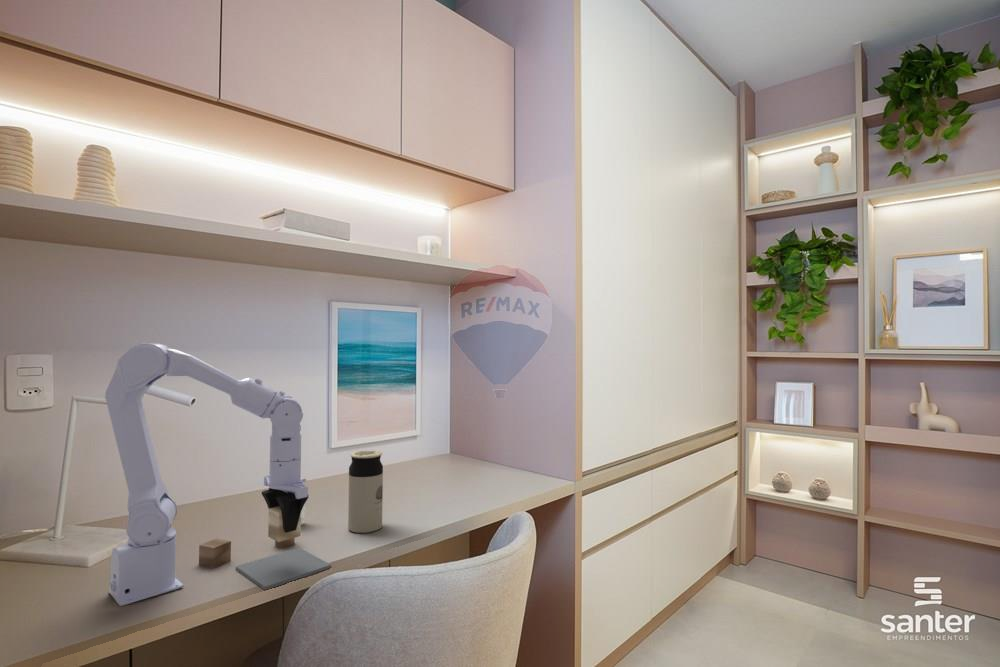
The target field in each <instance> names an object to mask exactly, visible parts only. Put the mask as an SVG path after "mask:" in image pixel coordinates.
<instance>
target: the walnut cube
mask: <svg viewBox="0 0 1000 667" xmlns="http://www.w3.org/2000/svg"><path fill="white" fill-rule="evenodd" d="M198 546H199V548H198V549H199V550H198V565H199V566H202V567H206V568H211V569H215V568H217V567H219V566H221V565H224V564H226V563H229V562H230V561H231V558H232V556H231V555H232V554H231V553H232V541H231V540H226V539H222V538H214V539H211V540H210V541H206V542H204V543H201V544H199V545H198Z"/></svg>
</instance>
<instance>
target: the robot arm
mask: <svg viewBox="0 0 1000 667" xmlns="http://www.w3.org/2000/svg"><path fill="white" fill-rule="evenodd" d="M115 367H116V369H115V370H114V372H113V375H112V377H111V379H110V381H109V384H108V386H107V388H106V390H105V395H104V396H105V397H104V398H105V402H106V406H107V408H108V414H109V418H110V421H111V426H112V430H113V435H114V438H115V442H116V445H117V450H118V453H119V458H120V461H121V465H122V470H123V474H124V477H125V481H126V482H125V483H126V486H127V489H128V498H127V511H128V519H127V523H126V526H125V530H126V532H125V533H126V535H127V537H128V540H127V542H126V543H124V544H121V545H119V546H115V547H114V548H112V551H111V554H110V579H109V589H108V592H109V594H110V595H111V596H112V598H113V599H114V600H115V602H116V603H117V604H118V606H119V607H120V606H121V607H122V606H126V605H130V604H132V603H133V604H134V603H136V602H139V601H142V600H145V599H149V598H151V597H155V596H159V595H162V594H165V593H169V592H173V591H175V590H178V589H182V588H183V587H184V584H183V582H181V581H180V580H179V579H178V578H177V577H176V556H177V554H176V552H177V550H176V549H177V531H176V530H175V529H174V527H173V525H172V522H173V521H174V520H175V519H176V517H177V515H178V504H177V503H176V501H175V500H174V499H173V498H172V497H171V496H170V495H169V492H168V490H167V487H166V484H164V482H163V480H162V478H161V475H160V469H159V467H158V462H157V458H156V453H155V450H154V445H153V441H152V437H151V433H150V429H149V425H148V421H147V417H146V412H145V408H144V404H143V400H142V397H143V396H144V395H145V394H146V392H147V391H148V390H149V389H150V387H152V385H153V383H155V382H156V381H158V380H160V379H161V378H162V377H164V376H166V377H189V378H191V379H194V380H196V381H198V382H200V383H203V384H204V385H207V386H209V387H211V388H214V389H216V390H219V391H221V392H223V393H225V394H227V395H229V396H230V400H231V403H232V405H233V406H236V407H238V408H241V409H242V410H244V411H246V412H249V413H251V414H253V415H254V416H257V417H259V418H261V419H269V420H270V422H271V435H270V437H269V474H267V475H264V476H263V486H265V487H268V489H265V490H262V491H261V495H262V497H263V498H264V500H265V503H266V505H267V509H268V510H269V508H273V507H278V506H280V509H281V513H282V520H283V528H284V532H286V533H288V532H291V531H295V530H296V528H297V525H298V521H299V517H300V514H301V511H302V508H303V506H304V504H305V505H306V503H305V502H307V500H308V499H309V494H308V493H309V489H308V486H306V485H305V483H306V482H307V478H306V477H303V476H301V475H302V474H301V470H302V469H301V468H302V467H301V465H302V464H301V463H302V461H301V460H302V433H301V431H302V426H301V422H302V420H303V417H304V413H303V409H302V407H301V405H300V403H299V402H298V401H297V400H296V399H295V398H293V397H292V396H289V395H286V393H285V392H284V391H282V390H279V391H277V390H275V389H274V388H273V389H272V388H271V387H269V386H267V385H265V384H264V383H263V380H262V379H260V378H259V377H258V378H257V377H256V378H255V379H253V378H251V377H247V378H243V379H238V378H235V377H234V376H232V375H229V374H227V373H226V372H224V371H222V370H220V369H218V368H216V367H215V366H213V365H211V364H210V363H207V362H205V361H204V360H201V359H200V358H198V357H196V356H194V355H192V354H189V353H186V352H184V351H181V350H178V349H175V348H170V347H168V346H167V345H165V344H162V343H149V342H142V343H139V344H138V343H137V344H135V345H134V346H132V347H130V348H129V349H128V350H127V351H126V352H125V353H124V354H123V355H122V356H121V357H119V359H117V364H116V366H115Z"/></svg>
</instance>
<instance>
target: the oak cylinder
mask: <svg viewBox="0 0 1000 667" xmlns="http://www.w3.org/2000/svg"><path fill="white" fill-rule="evenodd" d="M295 540H296V539H295V538H292V539H289V540H285V541H281V542H277V541H275V540H274V542H275V543H274V547H275V548H277V549H286V548H290V547H293V546H294V545H295V543H296V542H295Z"/></svg>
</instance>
